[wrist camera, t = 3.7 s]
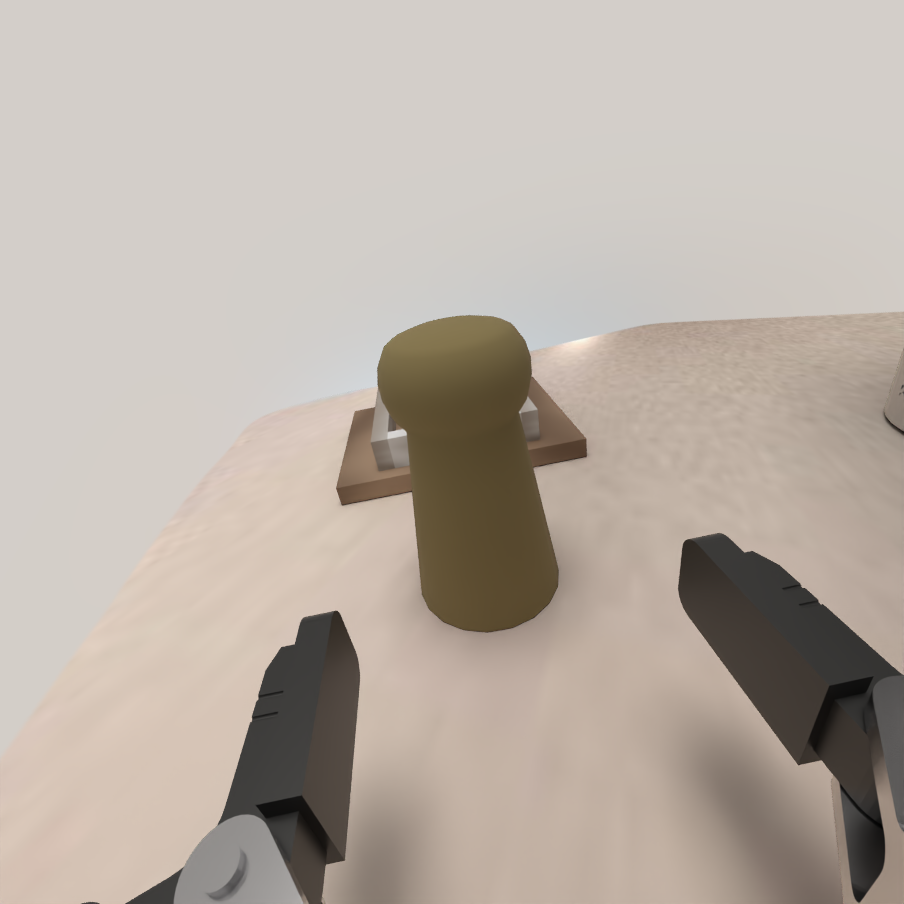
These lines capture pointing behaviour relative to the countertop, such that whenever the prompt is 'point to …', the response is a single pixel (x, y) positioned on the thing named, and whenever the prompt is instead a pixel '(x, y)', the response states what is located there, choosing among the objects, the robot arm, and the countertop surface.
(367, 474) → the spice dock
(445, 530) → the olive pawn figure
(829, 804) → the countertop surface
